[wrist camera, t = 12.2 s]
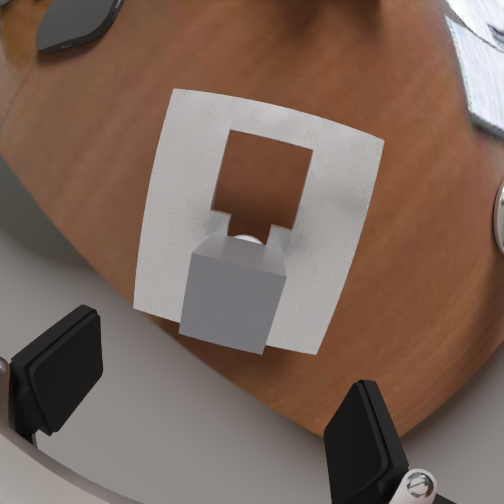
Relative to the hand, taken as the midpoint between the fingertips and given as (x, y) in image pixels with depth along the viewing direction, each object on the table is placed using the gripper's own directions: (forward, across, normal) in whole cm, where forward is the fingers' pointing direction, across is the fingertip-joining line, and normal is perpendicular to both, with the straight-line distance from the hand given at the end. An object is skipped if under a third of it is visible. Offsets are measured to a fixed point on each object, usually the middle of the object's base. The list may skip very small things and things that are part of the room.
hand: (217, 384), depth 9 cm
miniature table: (+20, +1, -3) cm, 21 cm away
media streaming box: (+20, +32, -28) cm, 47 cm away
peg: (+16, +1, 0) cm, 16 cm away
